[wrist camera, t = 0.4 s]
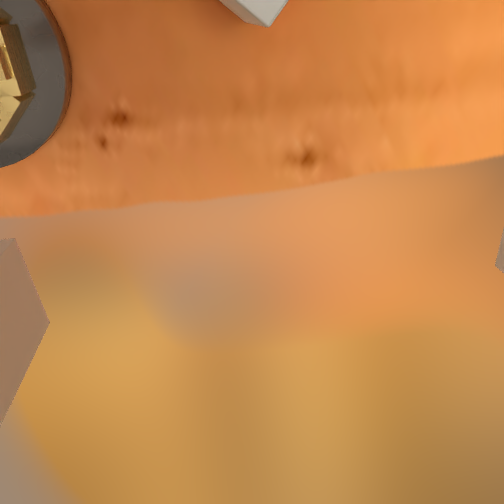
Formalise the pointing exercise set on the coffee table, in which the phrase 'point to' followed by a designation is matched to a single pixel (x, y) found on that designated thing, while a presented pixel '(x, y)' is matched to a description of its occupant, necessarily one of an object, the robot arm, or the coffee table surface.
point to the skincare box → (256, 10)
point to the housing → (39, 78)
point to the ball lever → (13, 77)
